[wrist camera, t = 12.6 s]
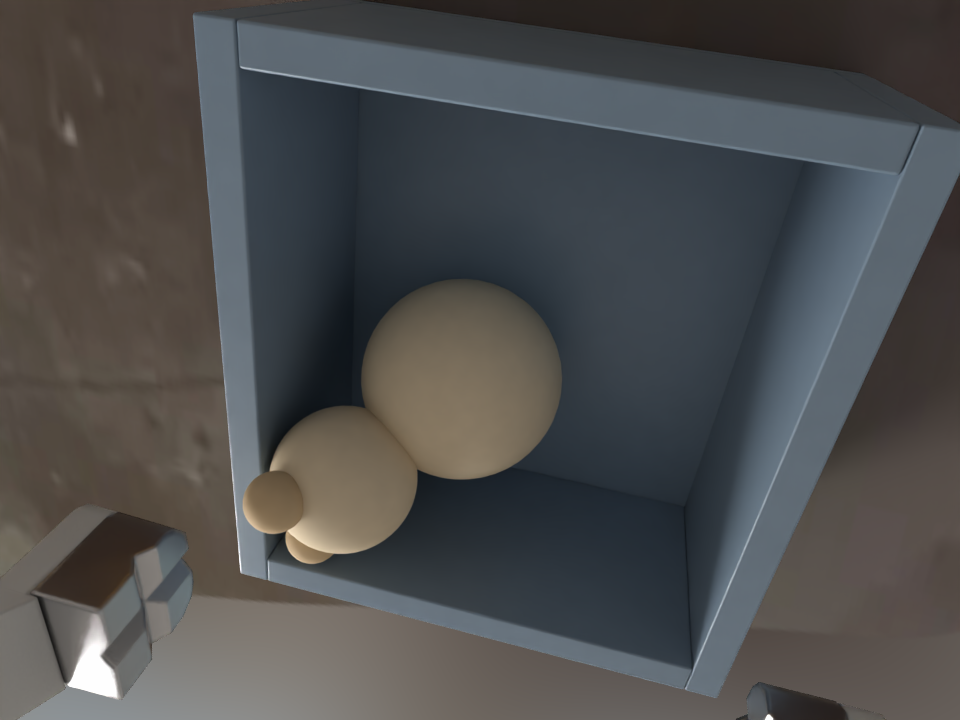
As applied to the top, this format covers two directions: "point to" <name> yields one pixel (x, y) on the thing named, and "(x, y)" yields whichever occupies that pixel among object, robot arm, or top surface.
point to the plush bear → (413, 418)
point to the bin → (564, 300)
